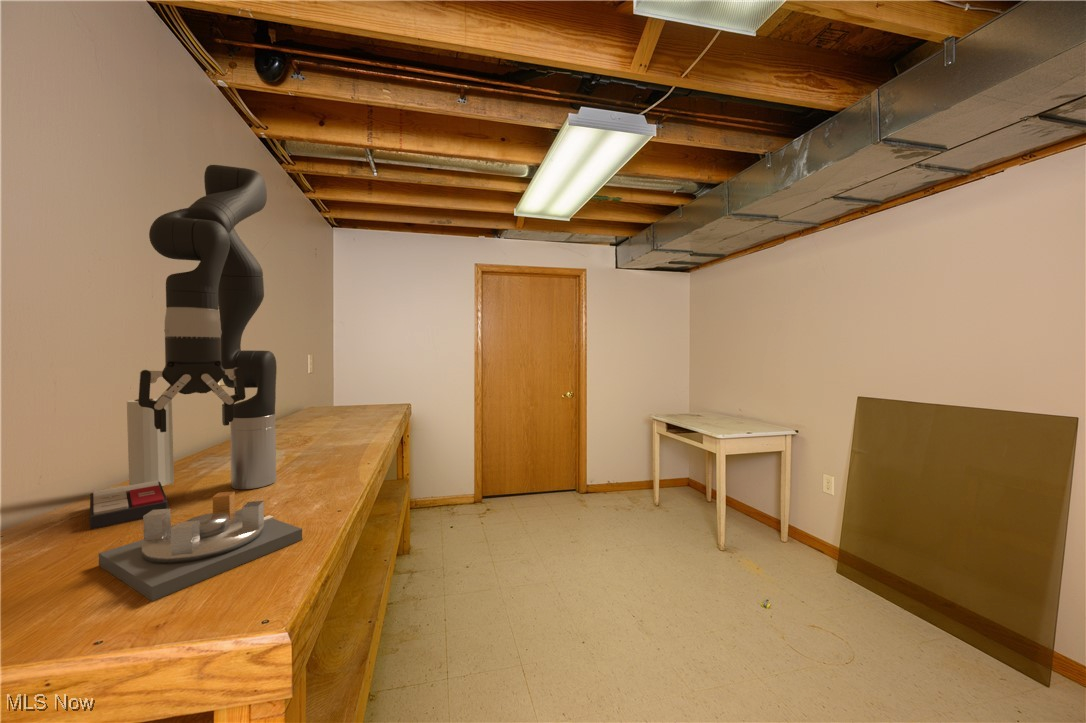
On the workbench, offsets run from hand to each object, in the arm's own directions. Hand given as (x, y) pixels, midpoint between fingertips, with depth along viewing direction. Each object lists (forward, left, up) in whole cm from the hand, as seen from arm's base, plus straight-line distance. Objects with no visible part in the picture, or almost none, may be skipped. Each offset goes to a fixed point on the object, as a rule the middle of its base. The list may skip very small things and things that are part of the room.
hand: (195, 428), depth 74 cm
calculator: (-29, 0, -21) cm, 36 cm away
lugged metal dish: (+5, -1, -18) cm, 19 cm away
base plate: (+5, -1, -20) cm, 21 cm away
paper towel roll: (-44, +8, -21) cm, 49 cm away
